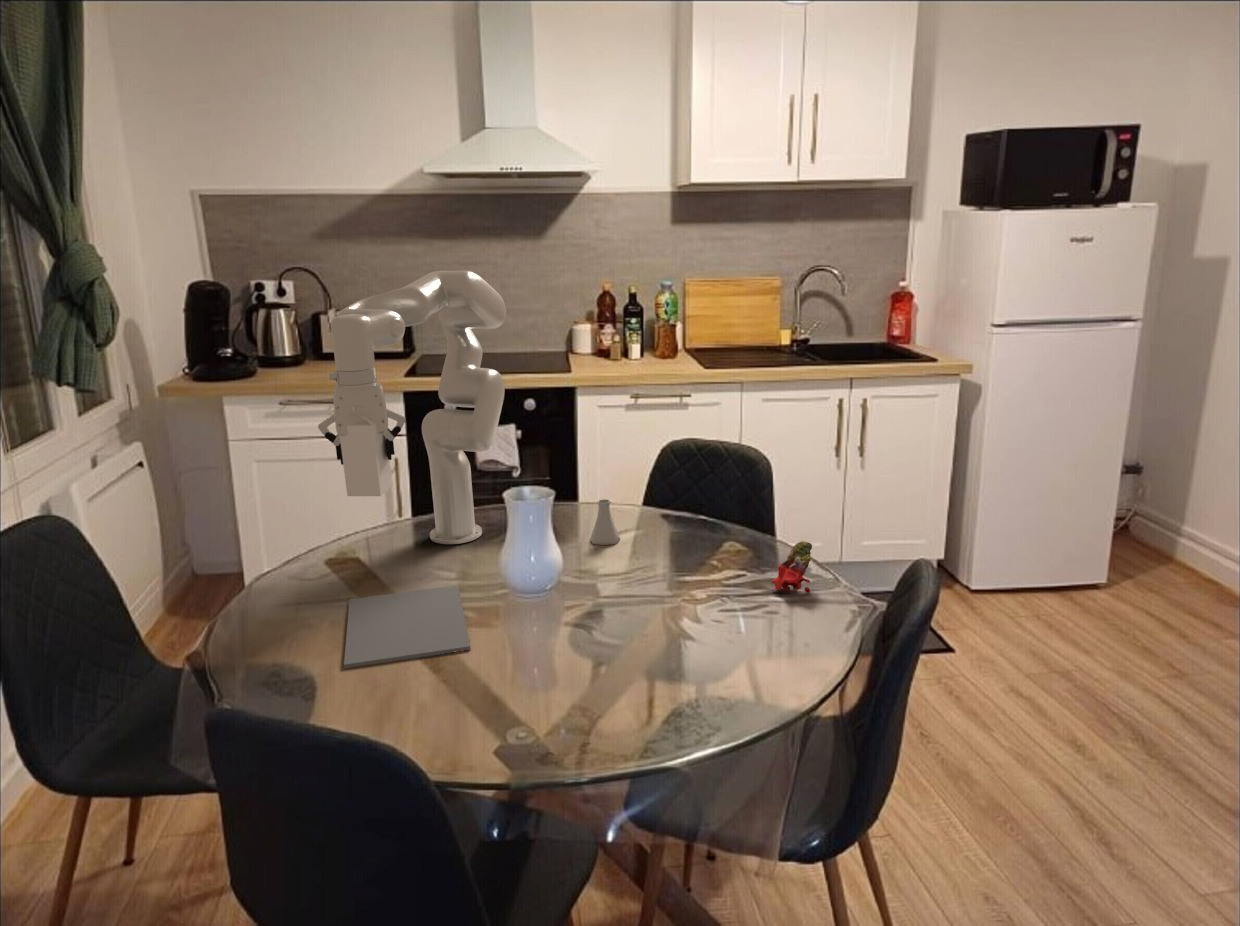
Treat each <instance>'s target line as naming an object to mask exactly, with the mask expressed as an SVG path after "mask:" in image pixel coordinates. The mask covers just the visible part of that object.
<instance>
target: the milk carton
mask: <svg viewBox="0 0 1240 926" xmlns="http://www.w3.org/2000/svg"><path fill="white" fill-rule="evenodd" d="M353 412H355V413H357V414H358V415H359V416H360V417H362V418H363V419H364V420H366V421H367V423H361V424H355V425H348V426H347V432H348V435H345V436H341V435H340V442H341V450H342V458H343V466H342V467H343V473H344V479H345V489H346V495H347V497H382V496H383V495H384V494H386V492H387V491H388V490H390V489H391V488H392V487H393V477H392V469H391V468H392V467H391V460H388V456H387V447H386V439H387V438H386V437H385V436H384V435H383V434H382V433H377V427H376V423H375V422H373V421H371V420H370V419H368V418H367V417H365V416H364V415H361V414H360V413H358V412H357V411H356V410H355V405H353ZM353 412H352V413H353ZM352 413H351V414H352ZM351 414H350V415H351ZM350 415H349V416H350Z"/></svg>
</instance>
